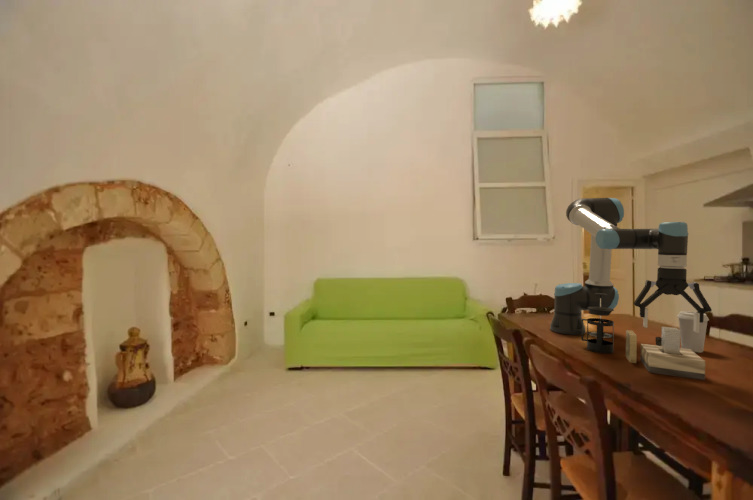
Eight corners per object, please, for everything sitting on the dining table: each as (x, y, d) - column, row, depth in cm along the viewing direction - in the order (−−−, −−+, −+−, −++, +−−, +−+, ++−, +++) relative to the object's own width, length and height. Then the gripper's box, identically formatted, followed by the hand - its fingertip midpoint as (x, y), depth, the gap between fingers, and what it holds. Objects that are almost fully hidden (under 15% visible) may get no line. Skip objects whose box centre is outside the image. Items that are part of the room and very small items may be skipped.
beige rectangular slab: (625, 356, 132) (626, 330, 132) (632, 356, 131) (632, 330, 131) (629, 362, 125) (629, 334, 124) (636, 363, 124) (636, 335, 124)
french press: (616, 349, 140) (617, 293, 139) (615, 355, 132) (616, 295, 132) (582, 344, 147) (583, 290, 146) (580, 349, 139) (580, 293, 139)
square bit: (661, 360, 120) (661, 326, 120) (675, 362, 118) (676, 328, 118) (664, 364, 117) (664, 329, 117) (679, 366, 115) (680, 330, 115)
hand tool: (682, 361, 127) (682, 348, 127) (668, 359, 129) (668, 347, 128) (665, 347, 144) (665, 336, 144) (653, 346, 146) (653, 335, 146)
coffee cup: (715, 353, 134) (716, 315, 134) (690, 353, 135) (691, 315, 134) (693, 346, 144) (694, 310, 144) (670, 346, 144) (670, 310, 144)
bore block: (640, 359, 127) (640, 343, 127) (690, 366, 121) (690, 349, 120) (649, 372, 115) (649, 354, 115) (704, 380, 108) (705, 361, 108)
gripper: (628, 266, 120) (627, 327, 120) (726, 269, 108) (724, 336, 109) (625, 265, 126) (623, 322, 127) (716, 268, 115) (714, 331, 115)
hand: (670, 329), depth 118 cm, fingers open, 13 cm apart
